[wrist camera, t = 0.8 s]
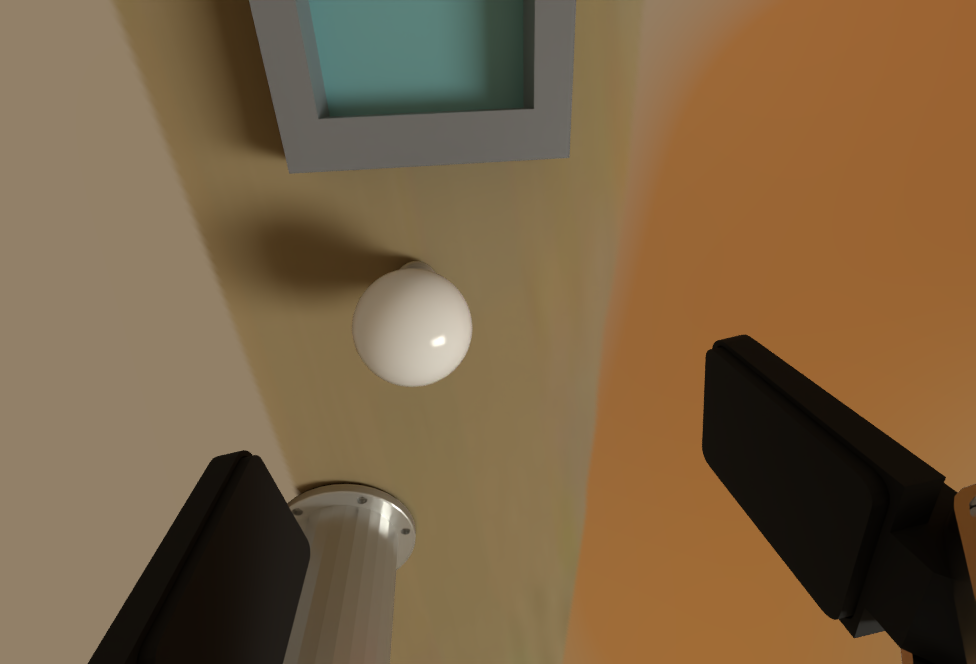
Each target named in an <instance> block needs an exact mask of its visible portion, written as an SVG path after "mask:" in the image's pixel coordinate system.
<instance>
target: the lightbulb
mask: <svg viewBox="0 0 976 664" xmlns="http://www.w3.org/2000/svg"><path fill="white" fill-rule="evenodd" d="M352 335H353V340H354V344H355V347H356V350H357V352H358V354H359V356H360V358H361V359H362V361H363V362H364V364H365V365H366V366H367V367H368V368H369V369H370V370H371V371H372V372H373V373H374V374H375V375H377V376H378V377H380V378H381V379H383V380H385V381H387V382H389V383H392V384H395V385H399V386H405V387H420V386H425V385H429V384H432V383H435V382H437V381H439V380H441V379H443V378H445V377H446V376H448V375H449V374H450V373H452V372H453V371H454V370H455V369H456V368H457V367H458V366H459V364H460V363H461V362H462V360H463V359H464V357H465V355H466V353H467V351H468V349H469V346H470V342H471V337H472V318H471V313H470V310H469V307H468V304H467V302H466V300H465V298H464V297H463V295H462V294H461V292H460V291H459V290H458V289H457V288H456V286H455V285H453V284H452V283H451V282H450V281H449V280H447V279H446V278H444V277H443V276H441V275H439V274H437V273H435V272H434V270H433V269H432V268H431V267H430V266H429V265H428V264H426V263H424V262H420V261H412V262H409V263H406V264H405V265H403V266H402V267H401V268H400V270H396V271H392V272H390V273H387V274H385V275H383V276H381V277H380V278H378V279H377V280H376V281H374V282H373V283H372V284H371V285H370V286H369V287H368V288H367V289H366V290H365V291H364V293H363V294H362V296H361V297H360V299H359V301H358V303H357V305H356V308H355V311H354V314H353V320H352Z"/></svg>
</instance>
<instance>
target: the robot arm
mask: <svg viewBox="0 0 976 664" xmlns="http://www.w3.org/2000/svg"><path fill="white" fill-rule="evenodd" d="M702 450H703V454H704V457H705V460H706V462H707V463H708V464H709V466H710V467H711V469H712V470H713V471H714V472H715V474H716V475H717V476H718V478H719V479H720V480H721V482H722V483H723V484H724V485H725V487H726V488H727V489H728V491H729V492H730V493H731V494H732V496H733V497H734V498H735V499H736V501H737V502H738V503H739V505H740V506H741V507H742V508H743V510H744V511H745V512H746V514H747V515H748V516H749V517H750V519H751V520H752V521H753V522H754V524H755V525H756V526H757V528H758V529H759V530H760V531H761V533H762V534H763V535H764V537H765V538H766V539H767V540H768V542H769V543H770V544H771V546H772V547H773V548H774V549H775V551H776V552H777V553H778V555H779V556H780V557H781V558H782V560H783V561H784V562H785V563H786V565H787V566H788V567H789V569H790V570H791V571H792V572H793V574H794V575H795V576H796V578H797V579H798V580H799V581H800V582H801V584H802V585H803V586H804V588H805V589H806V590H807V592H808V593H809V594H810V596H811V597H812V598H813V599H814V600H815V602H816V603H817V604H818V606H819V607H820V608H821V609H822V611H823V612H824V613H825V614H826V615H828V616H829V617H830V618H832V619H834V620H836V619H839V620H840V621H841V623H842V624H843V625H844V626H845V628H846V629H847V630H848V631H849V633H850V634H851V635H852V636H853V638H858V637H861V636H865V635H870V634H874V633H878V632H882V631H886V632H887V633H888V634H889V636H890V637H891V638H892V639H893V640H894V641H895V642H896V644H897V645H899V647H900V648H901V657H902V664H976V484H973V485H970V486H968V487H965V488H962V489H961V490H960V491H959V492H958V493H957V492H956V491H954V490H953V489H952V488H950V487H949V486H947V485H946V484H945V483H944V481H945V478H946V477H945V476H943V475H942V474H941V473H939V472H938V471H936V470H935V469H934V468H932V467H931V466H929V465H928V464H927V463H925V462H924V461H922V460H921V459H920V458H918V457H917V456H916V455H914V454H913V453H911V452H910V451H909V450H907V449H906V448H904V447H903V446H902V445H900V444H899V443H898V442H896V441H895V440H893V439H892V438H891V437H889V436H888V435H886V434H885V433H884V432H882V431H881V430H879V429H878V428H876V427H875V426H874V425H872V424H871V423H870V422H868V421H867V420H865V419H864V418H863V417H861V416H859V415H858V414H857V413H856V412H854V411H853V410H852V409H850V408H849V407H847V406H846V405H844V404H843V403H842V402H840V401H839V400H837V399H836V398H835V397H833V396H832V395H831V394H829V393H828V392H826V391H825V390H824V389H822V388H821V387H819V386H818V385H817V384H815V383H814V382H813V381H811V380H810V379H808V378H807V377H806V376H804V375H803V374H801V373H800V372H799V371H797V370H796V369H794V368H793V367H792V366H790V365H789V364H787V363H786V362H785V361H783V360H782V359H780V358H779V357H778V356H776V355H775V354H774V353H772V352H771V351H769V350H768V349H767V348H765V347H764V346H762V345H761V344H760V343H758V342H757V341H755V340H754V339H753V338H751V337H750V336H748V335H739V336H735V337H731V338H726V339H722V340H718V341H716V342H715V343H714V345H713V348H712V349H710V350H708V351H707V353H706V363H705V388H704V414H703V438H702ZM415 535H416V530H415V523H414V520H413V517H412V515H411V513H410V512H409V511H408V509H407V508H406V507H405V506H404V505H403V504H402V503H401V502H400V501H399V500H398V499H396V498H394V497H393V496H391V495H389V494H388V493H385V492H383V491H380V490H378V489H376V488H371V487H367V486H363V485H354V484H334V485H328V486H322V487H318V488H315V489H312V490H309V491H306V492H304V493H303V494H301V495H299V496H297V497H295V498H294V499H293V500H291V501H290V502H289V503H286V501H285V499H284V497H283V496H282V494H281V492H280V490H279V489H278V487H277V485H276V483H275V482H274V480H273V478H272V476H271V475H270V473H269V471H268V469H267V468H266V466H265V464H264V462H263V461H262V459H261V458H260V457H259V456H257V455H253V456H252V454H251V453H250V452H248V451H244V450H243V451H239V452H234V453H230V454H226V455H221V456H217V457H215V458H213V459H212V460H211V462H210V463H209V465H208V466H207V468H206V470H205V471H204V473H203V475H202V477H201V478H200V480H199V481H198V483H197V485H196V486H195V488H194V489H193V491H192V493H191V494H190V496H189V498H188V499H187V501H186V503H185V504H184V506H183V508H182V509H181V511H180V512H179V514H178V516H177V517H176V519H175V521H174V522H173V524H172V526H171V527H170V529H169V531H168V532H167V534H166V536H165V537H164V539H163V541H162V542H161V544H160V546H159V547H158V549H157V551H156V552H155V554H154V556H153V557H152V559H151V560H150V562H149V564H148V565H147V567H146V568H145V570H144V572H143V574H142V575H141V577H140V578H139V580H138V582H137V583H136V585H135V587H134V588H133V590H132V592H131V593H130V595H129V597H128V599H127V600H126V601H125V603H124V605H123V606H122V608H121V610H120V611H119V613H118V615H117V616H116V618H115V620H114V621H113V623H112V624H111V626H110V628H109V629H108V631H107V633H106V635H105V636H104V638H103V640H102V641H101V643H100V644H99V646H98V648H97V649H96V651H95V652H94V654H93V656H92V658H91V659H90V661H89V662H88V664H390V654H391V639H392V625H393V611H394V597H395V582H396V570H397V569H399V568H400V567H401V566H402V565H403V564H404V563H405V562H406V561H407V560H408V558H409V557H410V555H411V553H412V551H413V548H414V545H415Z"/></svg>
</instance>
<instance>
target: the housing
mask: <svg viewBox="0 0 976 664" xmlns="http://www.w3.org/2000/svg"><path fill="white" fill-rule="evenodd" d="M249 3H250V7H251V11H252V16H253V20H254V24H255V29H256V33H257V37H258V41H259V46H260V50H261V54H262V59H263V63H264V67H265V71H266V76H267V80H268V84H269V89H270V93H271V97H272V101H273V106H274V110H275V114H276V118H277V123H278V127H279V131H280V136H281V140H282V144H283V148H284V153H285V157H286V161H287V166H288V170H289V174H290V173H307V172H325V171H343V170H360V169H378V168H396V167H414V166H431V165H449V164H467V163H484V162H502V161H520V160H537V159H555V158H569V154H570V130H571V107H572V84H573V61H574V37H575V14H576V0H249Z"/></svg>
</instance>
